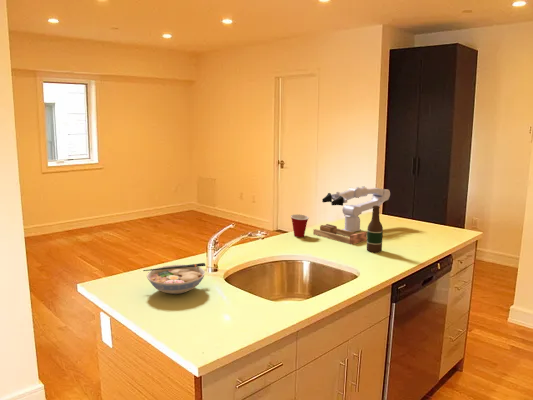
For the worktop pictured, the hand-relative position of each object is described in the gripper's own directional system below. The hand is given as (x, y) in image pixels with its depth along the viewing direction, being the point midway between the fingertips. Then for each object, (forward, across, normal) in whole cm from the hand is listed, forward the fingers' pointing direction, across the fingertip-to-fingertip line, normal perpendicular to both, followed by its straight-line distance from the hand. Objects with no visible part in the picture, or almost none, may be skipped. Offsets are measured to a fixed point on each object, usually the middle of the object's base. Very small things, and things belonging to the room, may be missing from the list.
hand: (327, 202), depth 268 cm
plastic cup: (+18, -6, +18) cm, 26 cm away
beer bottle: (+5, +40, +16) cm, 44 cm away
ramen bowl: (+112, +33, 0) cm, 117 cm away
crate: (+1, +1, +20) cm, 20 cm away
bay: (0, +9, +20) cm, 21 cm away
